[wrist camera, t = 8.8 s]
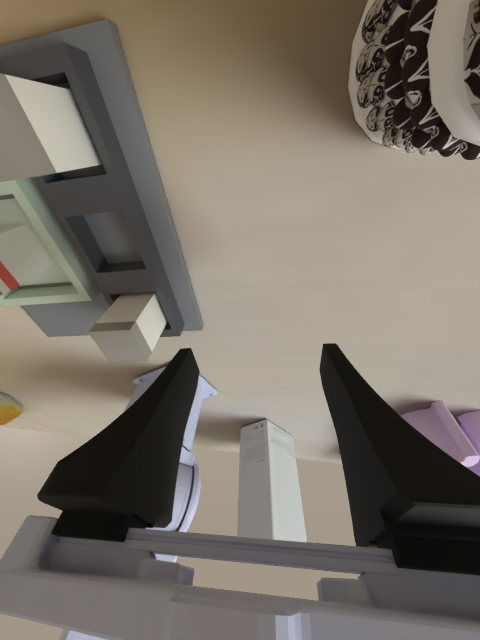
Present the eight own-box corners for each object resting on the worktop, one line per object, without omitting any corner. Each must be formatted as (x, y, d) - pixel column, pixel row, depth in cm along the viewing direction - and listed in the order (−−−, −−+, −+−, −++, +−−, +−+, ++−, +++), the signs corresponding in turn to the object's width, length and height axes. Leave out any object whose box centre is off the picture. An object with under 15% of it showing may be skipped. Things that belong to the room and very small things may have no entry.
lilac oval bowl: (404, 463, 44) (424, 508, 39) (344, 452, 43) (356, 497, 38) (502, 412, 31) (551, 469, 26) (420, 395, 30) (454, 451, 25)
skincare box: (240, 426, 39) (231, 546, 28) (268, 416, 37) (271, 546, 25) (268, 444, 43) (271, 557, 32) (296, 437, 40) (310, 557, 29)
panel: (52, 332, 28) (36, 347, 26) (-155, 91, 15) (-221, 84, 13) (203, 325, 25) (198, 341, 23) (115, 24, 12) (85, 2, 10)
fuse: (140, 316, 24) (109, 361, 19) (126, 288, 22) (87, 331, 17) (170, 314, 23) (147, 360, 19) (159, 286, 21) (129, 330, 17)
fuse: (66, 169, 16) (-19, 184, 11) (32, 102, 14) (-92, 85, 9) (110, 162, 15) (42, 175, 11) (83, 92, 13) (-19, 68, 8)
